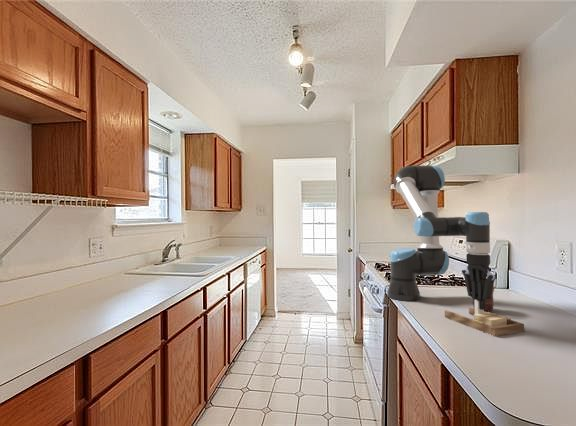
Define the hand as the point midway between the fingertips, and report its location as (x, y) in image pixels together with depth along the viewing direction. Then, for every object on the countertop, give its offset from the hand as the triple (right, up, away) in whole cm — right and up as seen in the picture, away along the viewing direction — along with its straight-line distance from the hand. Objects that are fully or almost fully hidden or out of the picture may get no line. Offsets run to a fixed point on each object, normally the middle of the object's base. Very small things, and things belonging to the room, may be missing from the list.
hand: (479, 317), depth 117 cm
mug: (+11, -2, +15) cm, 19 cm away
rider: (+1, -2, -4) cm, 5 cm away
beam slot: (0, -2, 0) cm, 2 cm away
